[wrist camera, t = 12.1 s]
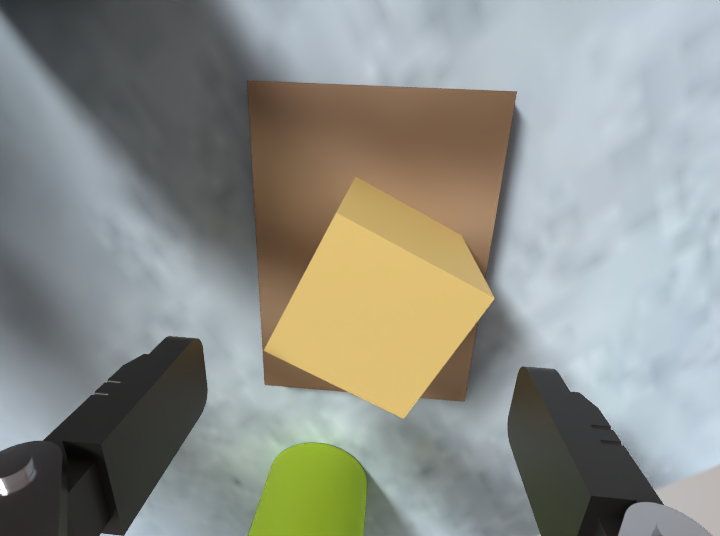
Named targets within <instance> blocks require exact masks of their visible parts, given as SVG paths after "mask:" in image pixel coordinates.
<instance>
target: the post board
mask: <svg viewBox="0 0 720 536" xmlns="http://www.w3.org/2000/svg"><path fill="white" fill-rule="evenodd" d="M247 87H248V104H249V121H250V139H251V156H252V173H253V191H254V208H255V225H256V243H257V260H258V278H259V295H260V312H261V330H262V347H263V364H264V382H265V385H272V386H284V387H296V388H308V389H320V390H332V391H344V392H347V391H345V390H343V389H341V388H339V387H337V386H335V385H333V384H331V383H329V382H327V381H325V380H323V379H321V378H319V377H317V376H315V375H313V374H310V373H308V372H306V371H304V370H302V369H300V368H298V367H296V366H294V365H292V364H290V363H288V362H286V361H284V360H282V359H280V358H278V357H276V356H273V355H271V354H269V353H267V352H265V351H264V349H265V347H266V345H267V343H268V341H269V339H270V338H271V336H272V334H273V332H274V330H275V328H276V326H277V324H278V322H279V320H280V318H281V317H282V315H283V313H284V311H285V309H286V307H287V305H288V303H289V301H290V299H291V298H292V296H293V294H294V292H295V290H296V288H297V286H298V284H299V282H300V280H301V279H302V277H303V275H304V273H305V271H306V269H307V267H308V265H309V263H310V261H311V260H312V258H313V256H314V254H315V252H316V250H317V248H318V246H319V244H320V242H321V241H322V239H323V237H324V235H325V233H326V231H327V229H328V227H329V225H330V223H331V222H332V220H333V218H334V216H335V214H336V212H337V210H338V208H339V207H340V205H341V203H342V201H343V199H344V197H345V195H346V194H347V192H348V190H349V188H350V186H351V184H352V182H353V181H354V179H355V177H357V178H359V179H361V180H363V181H365V182H366V183H368V184H370V185H372V186H374V187H375V188H377V189H379V190H381V191H383V192H384V193H386V194H388V195H390V196H392V197H393V198H395V199H397V200H399V201H401V202H402V203H404V204H406V205H408V206H410V207H411V208H413V209H415V210H417V211H419V212H420V213H422V214H424V215H426V216H428V217H429V218H431V219H433V220H435V221H437V222H438V223H440V224H442V225H444V226H446V227H447V228H449V229H451V230H453V231H455V232H456V233H458V234H460V235H462V237H463V239H464V241H465V243H466V245H467V247H468V249H469V250H470V252H471V254H472V256H473V258H474V260H475V262H476V264H477V266H478V267H479V269H480V271H481V273H482V275H483V277H484V279H485V277H486V271H487V265H488V259H489V254H490V248H491V242H492V236H493V230H494V224H495V218H496V212H497V206H498V200H499V194H500V188H501V183H502V177H503V171H504V165H505V159H506V153H507V147H508V141H509V135H510V129H511V123H512V118H513V112H514V106H515V100H516V94H517V92H515V91H491V90H466V89H442V88H417V87H392V86H368V85H343V84H318V83H294V82H269V81H247ZM477 325H478V321H477V323H476V324H475V325H474V327H473V328H472V329H471V331H470V332H469V333H468V335H467V336H466V337H465V338H464V340H463V341H462V342H461V344H460V345H459V346H458V348H457V349H456V350H455V352H454V353H453V354H452V356H451V357H450V358H449V360H448V361H447V362H446V364H445V365H444V366H443V368H442V369H441V370H440V371H439V373H438V374H437V375H436V377H435V378H434V379H433V381H432V382H431V383H430V385H429V386H428V387H427V389H426V390H425V391H424V393H423V394H422V395H421V397H420V398H429V399H441V400H453V401H465V396H466V390H467V384H468V378H469V372H470V366H471V360H472V354H473V348H474V342H475V336H476V330H477Z"/></svg>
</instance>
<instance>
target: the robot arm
mask: <svg viewBox="0 0 720 536" xmlns="http://www.w3.org/2000/svg"><path fill="white" fill-rule="evenodd" d="M206 400H207V380H206V371H205V362H204V354H203V346H202V343H201V341H200V340H199V339H197V338H185V337H173V336H168V337H166V338H165V339H164V340H163V341H162V342H161V343H160V344H159V345H158V346H157V347H156V348H155V349H154V350H153V351H152V352H151V353H150V354H143V355H141V356H140V357H138V358H136V359H134V360H132V361H130V362H129V363H127V364H125V365H123V366H122V367H121V368H120V369H119V370H118V371H117V372H116V373H115V374H113V375H112V376H111V377H110V378H109V379H108V382H107V383H104V384H103V385H102V386H101V387H100V388H99V389H97V390H96V391H95V395H91V396H90V397H89V398H88V399H87V400H86V401H85V402H84V403H83V404H82V405H80V406H79V407H78V408H77V409H76V410H75V411H74V412H73V413H72V414H71V415H70V416H69V417H68V418H67V419H66V420H64V421H63V422H62V423H61V424H60V425H59V426H58V427H57V428H56V429H55V430H54V431H53V432H52V433H51V434H50V435H48V436H47V437H46V438H45V439H44V440H43V441H32V442H26V443H22V444H18V445H15V446H12V447H10V448H7V449H5V450H3V451H0V536H99V535H100V534H101V533H104V534H112V535H121V536H124V534H125V533H126V531H127V530H128V528H129V527H130V525H131V523H132V522H133V520H134V519H135V517H136V516H137V514H138V513H139V511H140V509H141V508H142V506H143V505H144V503H145V502H146V500H147V498H148V497H149V495H150V494H151V492H152V491H153V489H154V487H155V486H156V484H157V483H158V481H159V480H160V478H161V477H162V475H163V473H164V472H165V470H166V469H167V467H168V466H169V464H170V462H171V461H172V459H173V458H174V456H175V455H176V453H177V451H178V450H179V448H180V447H181V445H182V444H183V442H184V441H185V439H186V437H187V436H188V434H189V433H190V431H191V430H192V428H193V426H194V425H195V423H196V422H197V420H198V419H199V417H200V415H201V414H202V412H203V410H204V407H205V404H206ZM508 438H509V443H510V446H511V449H512V452H513V455H514V458H515V461H516V463H517V466H518V469H519V472H520V475H521V478H522V481H523V484H524V487H525V490H526V493H527V496H528V499H529V501H530V504H531V507H532V510H533V513H534V516H535V519H536V522H537V525H538V528H539V531H540V534H541V536H712V535H711V534H710V533H709V532H708V531H707V530H706V529H705V528H703V527H702V526H701V525H700V524H698V523H697V522H696V521H694V520H693V519H691V518H690V517H688V516H686V515H684V514H683V513H681V512H679V511H677V510H675V509H673V508H670V507H667V506H665V505H664V504H663V503H662V501H661V500H660V498H659V497H658V495H657V494H656V492H655V491H654V490H653V488H652V487H651V485H650V484H649V482H648V481H647V479H646V478H645V476H644V475H643V473H642V472H641V470H640V469H639V467H638V466H637V464H636V463H635V462H634V460H633V459H632V457H631V456H630V454H629V453H628V451H627V450H626V448H625V447H624V446H622V445H621V441H620V439H619V438H618V437H617V435H616V434H615V432H614V431H613V430H611V426H610V425H609V423H608V422H607V420H606V419H605V417H604V416H603V414H602V413H601V411H600V410H599V409H598V408H597V407H596V406H595V405H594V404H592V403H591V402H590V401H589V400H588V399H586V398H585V397H584V396H583V395H581V394H580V393H578V392H570V391H569V389H568V387H567V386H566V384H565V383H564V381H563V379H562V378H561V376H560V375H559V373H558V372H557V371H556V370H555V369H547V368H535V367H521V368H520V370H519V372H518V376H517V380H516V385H515V389H514V394H513V398H512V403H511V407H510V411H509V416H508Z"/></svg>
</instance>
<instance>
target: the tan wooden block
mask: <svg viewBox="0 0 720 536" xmlns="http://www.w3.org/2000/svg"><path fill="white" fill-rule="evenodd" d="M494 299H495V298H494V296H493V294H492V292H491V290H490V288H489V286H488V284H487V283H486V281H485V279H484V277H483V275H482V273H481V271H480V269H479V267H478V266H477V264H476V262H475V260H474V258H473V256H472V254H471V252H470V250H469V249H468V247H467V245H466V243H465V241H464V239H463V237H462V235H460V234H458V233H456V232H455V231H453V230H451V229H449V228H447V227H446V226H444V225H442V224H440V223H438V222H437V221H435V220H433V219H431V218H429V217H428V216H426V215H424V214H422V213H420V212H419V211H417V210H415V209H413V208H411V207H410V206H408V205H406V204H404V203H402V202H401V201H399V200H397V199H395V198H393V197H392V196H390V195H388V194H386V193H384V192H383V191H381V190H379V189H377V188H375V187H374V186H372V185H370V184H368V183H366V182H365V181H363V180H361V179H359V178H357V177H355V179H354V181H353V182H352V184H351V186H350V188H349V190H348V192H347V194H346V195H345V197H344V199H343V201H342V203H341V205H340V207H339V208H338V210H337V212H336V214H335V216H334V218H333V220H332V222H331V223H330V225H329V227H328V229H327V231H326V233H325V235H324V237H323V239H322V241H321V242H320V244H319V246H318V248H317V250H316V252H315V254H314V256H313V258H312V260H311V261H310V263H309V265H308V267H307V269H306V271H305V273H304V275H303V277H302V279H301V280H300V282H299V284H298V286H297V288H296V290H295V292H294V294H293V296H292V298H291V299H290V301H289V303H288V305H287V307H286V309H285V311H284V313H283V315H282V317H281V318H280V320H279V322H278V324H277V326H276V328H275V330H274V332H273V334H272V336H271V338H270V339H269V341H268V343H267V345H266V347H265V349H264V351H265V352H267V353H269V354H271V355H273V356H276V357H278V358H280V359H282V360H284V361H286V362H288V363H290V364H292V365H294V366H296V367H298V368H300V369H302V370H304V371H306V372H308V373H310V374H313V375H315V376H317V377H319V378H321V379H323V380H325V381H327V382H329V383H331V384H333V385H335V386H337V387H339V388H341V389H343V390H345V391H347V392H349V393H352V394H354V395H356V396H358V397H360V398H362V399H364V400H366V401H368V402H370V403H372V404H374V405H376V406H378V407H380V408H382V409H384V410H386V411H389V412H391V413H393V414H395V415H397V416H399V417H401V418H403V419H404V418H405V416H406V415H407V414H408V412H409V411H410V410H411V408H412V407H413V406H414V404H415V403H416V402H417V401H418V399H419V398H420V397H421V395H422V394H423V393H424V391H425V390H426V389H427V387H428V386H429V385H430V383H431V382H432V381H433V379H434V378H435V377H436V375H437V374H438V373H439V371H440V370H441V369H442V368H443V366H444V365H445V364H446V362H447V361H448V360H449V358H450V357H451V356H452V354H453V353H454V352H455V350H456V349H457V348H458V346H459V345H460V344H461V342H462V341H463V340H464V338H465V337H466V336H467V335H468V333H469V332H470V331H471V329H472V328H473V327H474V325H475V324H476V323H477V321H478V320H479V319H480V317H481V316H482V315H483V313H484V312H485V311H486V309H487V308H488V307H489V306H490V304H491V303H492V302H493V300H494Z"/></svg>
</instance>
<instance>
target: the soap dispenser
mask: <svg viewBox="0 0 720 536" xmlns="http://www.w3.org/2000/svg"><path fill="white" fill-rule="evenodd" d="M366 495H367V478H366V474H365V472H364V470H363V468H362V466H361V465H360V464H359V462H358V461H357V460H356V459H355V458H354V457H352V456H351V455H350V454H348V453H347V452H345V451H343V450H341V449H339V448H337V447H334V446H331V445H327V444H322V443H304V444H298V445H295V446H292V447H290V448H288V449H286V450H284V451H283V452H282V453H280V454H279V455H278V456H277V457H276V459H275V460H274V462H273V464H272V466H271V469H270V472H269V475H268V478H267V481H266V484H265V487H264V490H263V492H262V495H261V498H260V501H259V504H258V507H257V510H256V513H255V516H254V519H253V522H252V525H251V528H250V531H249V534H248V536H364V524H365V509H366Z"/></svg>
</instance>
